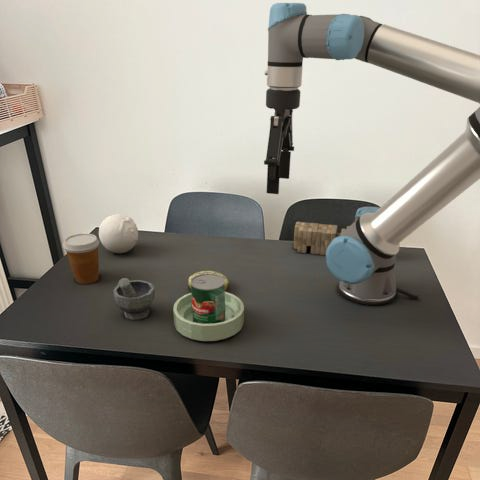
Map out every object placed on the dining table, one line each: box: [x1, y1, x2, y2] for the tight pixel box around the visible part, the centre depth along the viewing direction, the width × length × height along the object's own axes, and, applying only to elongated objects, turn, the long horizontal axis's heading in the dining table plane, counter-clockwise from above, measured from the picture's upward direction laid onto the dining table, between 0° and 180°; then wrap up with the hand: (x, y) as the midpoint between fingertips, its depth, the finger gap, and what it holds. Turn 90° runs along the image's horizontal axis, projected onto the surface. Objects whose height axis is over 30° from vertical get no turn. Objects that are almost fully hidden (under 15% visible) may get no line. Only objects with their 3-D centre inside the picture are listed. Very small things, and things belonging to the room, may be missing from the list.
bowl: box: [172, 291, 245, 342], centre depth 111 cm, size 17×17×5 cm
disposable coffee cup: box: [62, 232, 100, 285], centre depth 129 cm, size 10×10×12 cm
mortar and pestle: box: [112, 277, 156, 321], centre depth 113 cm, size 11×9×12 cm
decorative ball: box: [98, 213, 139, 254], centre depth 146 cm, size 12×12×12 cm
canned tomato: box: [190, 274, 226, 324], centre depth 109 cm, size 8×8×11 cm
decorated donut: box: [188, 270, 230, 292], centre depth 127 cm, size 10×11×4 cm
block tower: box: [293, 221, 351, 256], centre depth 148 cm, size 8×8×29 cm
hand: (278, 185), depth 113 cm, fingers open, 13 cm apart
